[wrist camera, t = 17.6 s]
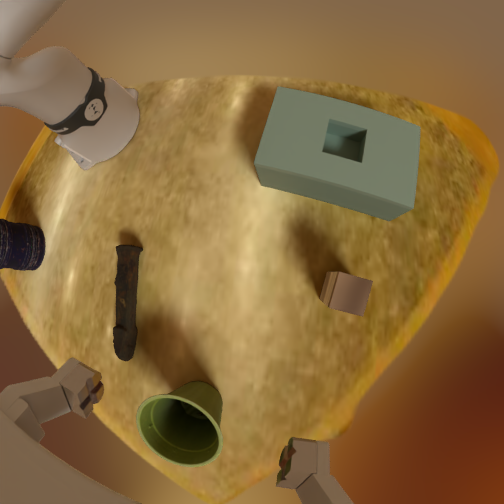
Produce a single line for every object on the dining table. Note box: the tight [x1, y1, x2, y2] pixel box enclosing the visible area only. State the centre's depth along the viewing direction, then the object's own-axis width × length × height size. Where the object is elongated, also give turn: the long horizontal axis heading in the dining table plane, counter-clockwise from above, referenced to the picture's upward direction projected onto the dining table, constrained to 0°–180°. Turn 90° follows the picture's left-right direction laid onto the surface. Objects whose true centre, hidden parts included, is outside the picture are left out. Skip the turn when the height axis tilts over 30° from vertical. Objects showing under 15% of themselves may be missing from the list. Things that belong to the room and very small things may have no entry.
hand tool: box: [113, 245, 143, 361], centre depth 41 cm, size 19×4×5 cm, turn 174°
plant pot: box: [136, 381, 223, 467], centre depth 34 cm, size 12×12×11 cm
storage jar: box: [0, 219, 45, 271], centre depth 40 cm, size 10×10×15 cm
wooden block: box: [320, 272, 373, 316], centre depth 34 cm, size 4×4×10 cm
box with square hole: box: [254, 87, 420, 221], centre depth 35 cm, size 20×12×9 cm, turn 74°
